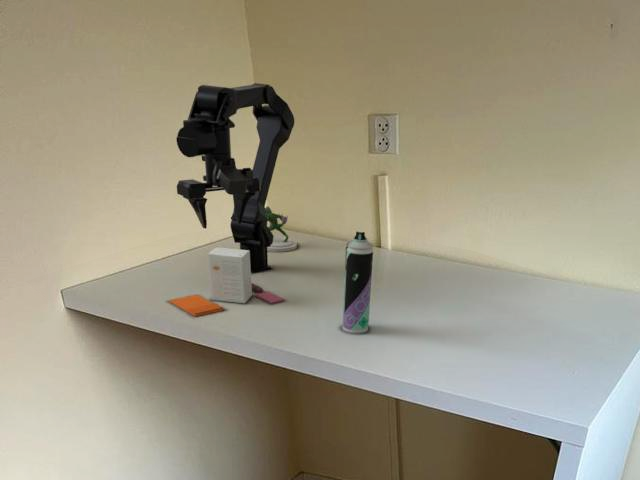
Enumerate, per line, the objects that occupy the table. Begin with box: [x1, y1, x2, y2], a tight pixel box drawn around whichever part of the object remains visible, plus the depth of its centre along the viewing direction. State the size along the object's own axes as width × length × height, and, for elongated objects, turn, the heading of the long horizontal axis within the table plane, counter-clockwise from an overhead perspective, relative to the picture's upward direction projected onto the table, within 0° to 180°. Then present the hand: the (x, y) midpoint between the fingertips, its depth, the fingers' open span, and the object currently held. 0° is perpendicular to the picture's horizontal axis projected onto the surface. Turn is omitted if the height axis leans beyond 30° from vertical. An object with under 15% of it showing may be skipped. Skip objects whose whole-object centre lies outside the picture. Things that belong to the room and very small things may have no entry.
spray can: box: [342, 231, 374, 335], centre depth 138 cm, size 6×6×20 cm
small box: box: [207, 246, 253, 304], centre depth 152 cm, size 8×6×10 cm
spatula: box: [251, 282, 284, 305], centre depth 159 cm, size 17×4×2 cm, turn 42°
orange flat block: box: [169, 294, 224, 318], centre depth 149 cm, size 7×11×1 cm, turn 42°
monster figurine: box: [265, 205, 298, 253], centre depth 190 cm, size 12×12×10 cm
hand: (221, 225), depth 157 cm, fingers open, 9 cm apart
